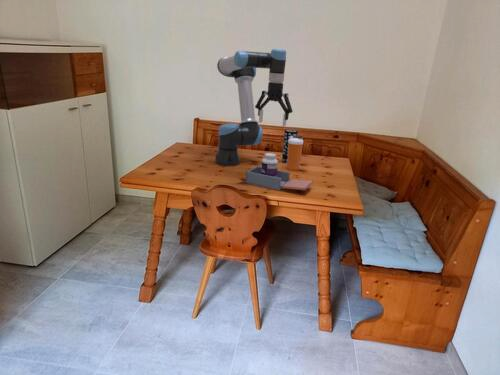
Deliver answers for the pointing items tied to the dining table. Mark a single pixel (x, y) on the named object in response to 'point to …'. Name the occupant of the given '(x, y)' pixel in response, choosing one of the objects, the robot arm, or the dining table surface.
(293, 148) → the shaker bottle
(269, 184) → the grey open box
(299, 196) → the dining table surface
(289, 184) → the tailgate
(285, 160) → the spotted tube
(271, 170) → the pill bottle
